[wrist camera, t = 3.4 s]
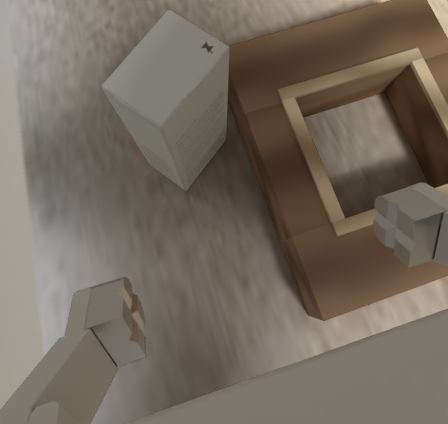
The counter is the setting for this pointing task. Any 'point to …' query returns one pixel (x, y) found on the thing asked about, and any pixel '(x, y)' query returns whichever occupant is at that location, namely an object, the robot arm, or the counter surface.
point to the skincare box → (174, 97)
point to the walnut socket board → (307, 153)
